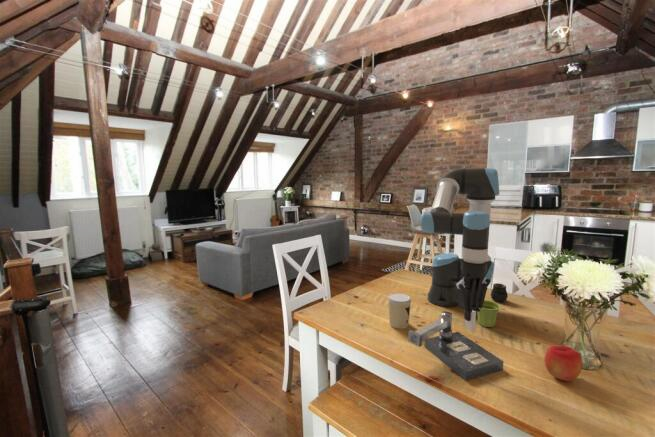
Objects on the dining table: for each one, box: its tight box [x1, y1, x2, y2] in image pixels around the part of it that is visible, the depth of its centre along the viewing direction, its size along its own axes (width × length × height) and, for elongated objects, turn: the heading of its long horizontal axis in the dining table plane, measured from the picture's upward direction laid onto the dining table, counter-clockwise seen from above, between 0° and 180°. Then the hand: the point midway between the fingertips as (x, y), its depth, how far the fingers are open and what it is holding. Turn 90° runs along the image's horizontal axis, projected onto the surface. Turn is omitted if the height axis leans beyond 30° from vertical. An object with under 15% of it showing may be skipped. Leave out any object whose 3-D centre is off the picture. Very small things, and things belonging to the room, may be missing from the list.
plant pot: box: [477, 299, 501, 328], centre depth 128 cm, size 9×9×9 cm
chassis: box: [424, 329, 504, 382], centre depth 106 cm, size 15×20×6 cm
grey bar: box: [407, 310, 453, 348], centre depth 107 cm, size 21×4×6 cm, turn 128°
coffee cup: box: [387, 292, 412, 330], centre depth 129 cm, size 9×9×12 cm
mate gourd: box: [490, 282, 508, 303], centre depth 151 cm, size 7×8×10 cm
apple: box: [543, 344, 583, 382], centre depth 94 cm, size 10×10×10 cm
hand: (469, 328), depth 102 cm, fingers closed
